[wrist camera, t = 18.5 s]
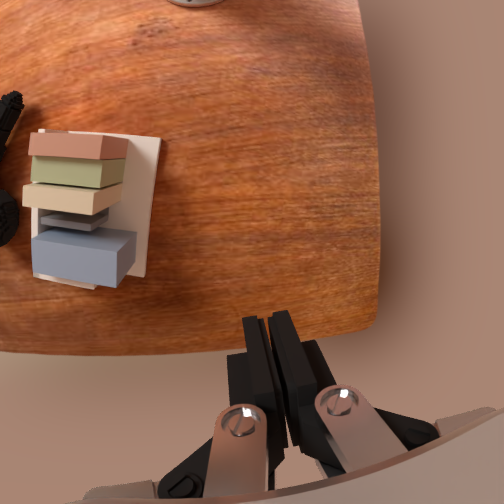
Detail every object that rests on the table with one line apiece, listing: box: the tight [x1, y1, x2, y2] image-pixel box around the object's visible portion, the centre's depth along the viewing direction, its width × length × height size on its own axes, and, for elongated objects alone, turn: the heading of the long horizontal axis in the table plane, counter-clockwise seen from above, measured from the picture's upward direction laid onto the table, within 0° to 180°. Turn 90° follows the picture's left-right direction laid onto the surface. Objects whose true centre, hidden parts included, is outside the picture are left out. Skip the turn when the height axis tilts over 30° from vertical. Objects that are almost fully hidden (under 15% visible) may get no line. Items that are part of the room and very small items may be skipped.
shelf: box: [22, 129, 162, 290], centre depth 32 cm, size 18×14×10 cm
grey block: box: [31, 226, 137, 288], centre depth 33 cm, size 4×11×8 cm, turn 80°
